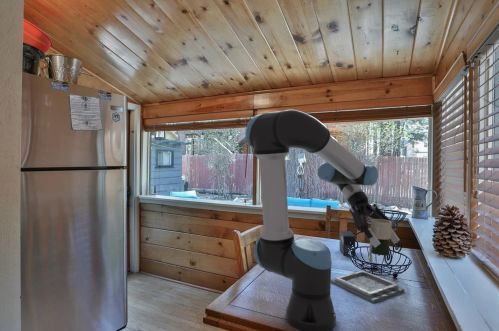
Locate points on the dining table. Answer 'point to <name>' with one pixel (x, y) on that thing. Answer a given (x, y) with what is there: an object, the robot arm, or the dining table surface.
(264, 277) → the dining table surface
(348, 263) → the dining table surface
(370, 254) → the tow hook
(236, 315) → the dining table surface
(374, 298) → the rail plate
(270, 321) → the dining table surface
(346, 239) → the small box
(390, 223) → the character mug
